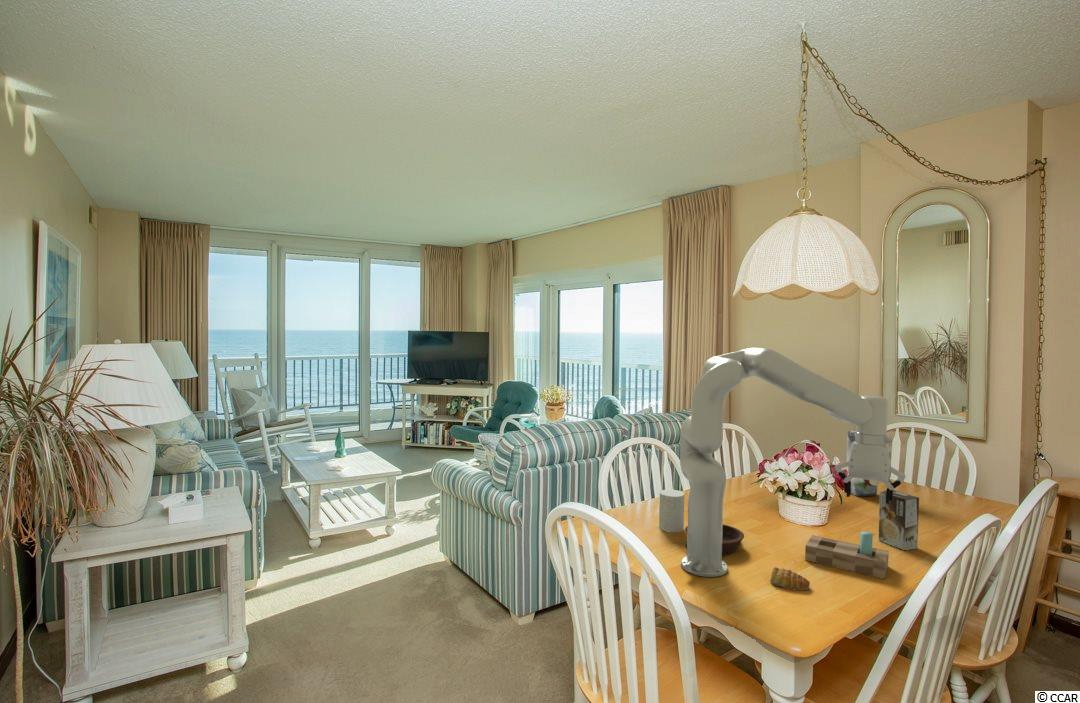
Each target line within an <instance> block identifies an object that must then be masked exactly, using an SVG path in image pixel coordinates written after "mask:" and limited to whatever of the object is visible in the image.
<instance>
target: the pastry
mask: <svg viewBox="0 0 1080 703" xmlns="http://www.w3.org/2000/svg"><path fill="white" fill-rule="evenodd" d="M770 574H771V575H770V579H769V581H770V583H772V584H773V585H774V586H777V587H782V588H784V589H786V588H788V590H793V589H795V590H794V591H807V590H809V589H810V586H811V581H810V580H808V579H807V578H806V577H803V575H801V574H798V573H797V572H794V571H792V570H791V569H785V568H784V567H781V568H779V567H777V566H774V567H773V568H772V571H771V573H770Z"/></svg>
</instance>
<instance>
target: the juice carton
mask: <svg viewBox="0 0 1080 703" xmlns="http://www.w3.org/2000/svg"><path fill="white" fill-rule="evenodd" d="M855 433H856V430H847V433H846V434H847V437H846V438H847V439H846V440H847V442H846V462H847V461H849V457H850V451H851V446H852V443H853V442H854V441H855ZM848 467H849V466H847V467H845V468H846V469H845V470H847V471H848ZM851 480H852V483H851V495H853V496H856V497H875V496H876V497H877V495H878V487H879V486H878V485H879V483H878V482H879V481H872V480H866V479H859V478H854V477H853V478H852V479H851Z"/></svg>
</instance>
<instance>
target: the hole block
mask: <svg viewBox="0 0 1080 703" xmlns="http://www.w3.org/2000/svg"><path fill="white" fill-rule="evenodd" d="M804 549H805V551H804V552H805V554H804V555H805V556H804V557H805V558H804V561H806V560H807V561H806V562H810V561H812V562H811V563H814V562H816V563H815V564H819V563H820V565H823V564H824V565H825V566H827V565H829V566H828V567H831V566H833V568H836V567H838V568H837V569H840V568H842V569H841V570H844V569H847V570H846V571H848V570H851V571H850V572H853V571H855V572H854V573H857V572H859V573H858V574H861V573H863V574H862V575H865V574H868V575H867V576H870V575H872V576H871V577H874V576H876V577H875V578H878V577H881V578H880V579H882V578H885V579H886V575H887V572H888V569H887V568H889V550H885V549H881V548H878V547H877V548H876V547H872V556H868V555H864V554H860V544H857V543H852V542H847V541H843V540H839V539H833V538H830V537H829V538H828V537H823V536H819V535H814V534H812V535H811V536H810V538H809V539H808V541H806V544H805V548H804ZM824 565H823V566H824Z"/></svg>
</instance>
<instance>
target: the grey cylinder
mask: <svg viewBox="0 0 1080 703" xmlns="http://www.w3.org/2000/svg"><path fill="white" fill-rule="evenodd" d="M658 509H659V510H658V511H659V513H658V515H659V516H658V528H659V530H661V529H662V531H663V532H667V531H669V532H668V533H680V532H679V531H681V532H683V531H684V530H685V492H683V491H681V490H677V489H672V488H671V489H662V490H659V508H658ZM683 529H684V530H683ZM682 530H683V531H682Z"/></svg>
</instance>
